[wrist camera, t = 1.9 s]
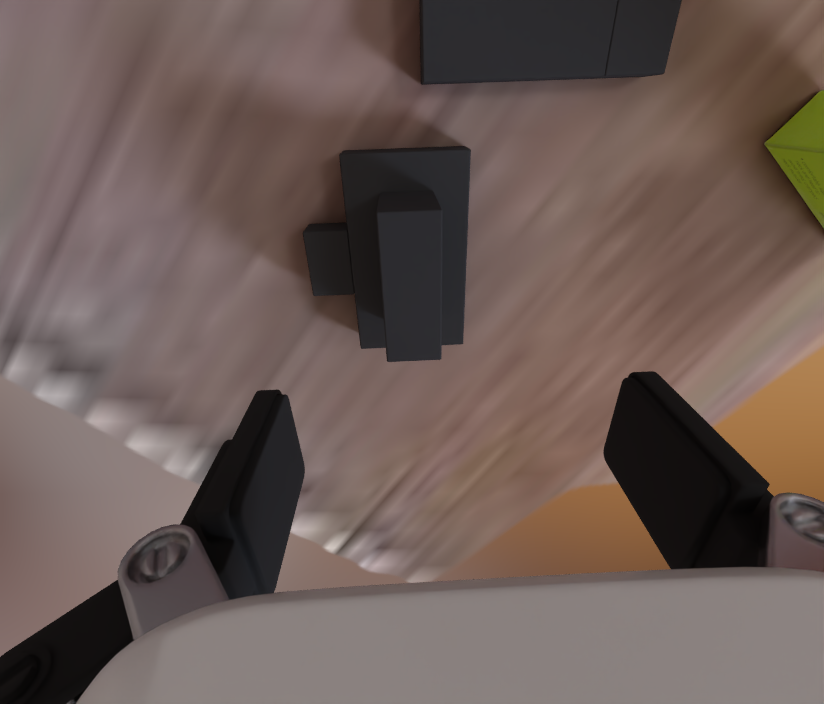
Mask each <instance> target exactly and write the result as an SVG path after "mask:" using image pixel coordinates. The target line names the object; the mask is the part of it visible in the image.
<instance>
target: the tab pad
mask: <svg viewBox="0 0 824 704" xmlns="http://www.w3.org/2000/svg"><path fill="white" fill-rule="evenodd" d="M470 155H471V150H470V149H469V148H467V147H465V146H451V147H425V148H398V149H371V150H345V151H343V152H342V153H340V155H339V158H340V166H341V175H342V184H343V193H344V202H345V211H346V220H347V223H324V224H309V225H308V226H307V228H306V229H305V230H304V232H303V237H304V243H305V249H306V255H307V261H308V267H309V272H310V278H311V284H312V290H313V295H314V296H322V295H346V294H354V293H355V301H356V310H357V319H358V328H359V337H360V346H361V349H366V348H386V354H387V361H388V362H397V361H419V360H440V359H441V345H454V344H463V332H464V307H465V282H466V256H467V231H468V206H469V180H470Z"/></svg>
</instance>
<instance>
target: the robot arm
mask: <svg viewBox="0 0 824 704" xmlns="http://www.w3.org/2000/svg"><path fill="white" fill-rule="evenodd" d="M604 458H605V461H606V463H607V465H608V466H609V468H610V470H611V471H612V473H613V474H614V476H615V478H616V479H617V481H618V483H619V484H620V486H621V488H622V489H623V491H624V492H625V494H626V496H627V497H628V499H629V501H630V503H631V504H632V506H633V508H634V509H635V511H636V512H637V514H638V516H639V517H640V519H641V521H642V522H643V524H644V526H645V527H646V529H647V531H648V532H649V534H650V536H651V537H652V539H653V541H654V542H655V544H656V545H657V547H658V549H659V550H660V552H661V554H662V555H663V557H664V559H665V560H666V562H667V564H668V565H669V566H670V568H671V569H669V570H648V571H628V572H606V573H586V574H565V575H547V576H529V577H509V578H491V579H473V580H455V581H437V582H420V583H403V584H387V585H370V586H353V587H340V588H327V589H313V590H300V591H287V592H277V593H274V590H275V588H276V584H277V580H278V576H279V572H280V569H281V565H282V561H283V557H284V553H285V549H286V545H287V541H288V537H289V534H290V530H291V526H292V522H293V518H294V514H295V510H296V506H297V502H298V499H299V495H300V491H301V487H302V483H303V479H304V473H305V467H304V461H303V457H302V453H301V449H300V444H299V440H298V436H297V432H296V427H295V423H294V419H293V415H292V411H291V406H290V402H289V398H288V396H287V395H282V394H281V392H280V390H261V391H257V392H256V394H255V396H254V398H253V400H252V401H251V403H250V405H249V407H248V409H247V411H246V413H245V415H244V417H243V419H242V421H241V423H240V425H239V427H238V429H237V431H236V433H235V435H234V437H233V439H232V440H227V441H225V442H224V444H223V445H222V447H221V449H220V450H219V452H218V454H217V456H216V458H215V460H214V462H213V464H212V466H211V467H210V469H209V471H208V473H207V475H206V477H205V479H204V481H203V482H202V484H201V486H200V488H199V490H198V492H197V494H196V496H195V498H194V500H193V501H192V503H191V505H190V507H189V509H188V511H187V513H186V515H185V516H184V518H183V520H182V522H181V524H180V525H169V526H165V527H161V528H159V529H157V530H155V531H152V532H150V533H149V534H147V535H146V536H144V537H143V538H142V539H140V540H139V541H137V542H136V543H135V544H134V545H133V546H132V547H131V548H130V549H129V550H128V552H127V553H126V555H125V556H124V557H123V559H122V561H121V563H120V566H119V568H118V580H117V581H115V582H114V583H112V584H110V585H109V586H108V587H106V588H104V589H103V590H101V591H100V592H98V593H97V594H95V595H94V596H92V597H90V598H89V599H87V600H86V601H84V602H83V603H81V604H80V605H78V606H77V607H75V608H74V609H72V610H71V611H69V612H67V613H66V614H64V615H63V616H61V617H60V618H58V619H57V620H55V621H54V622H52V623H51V624H49V625H47V626H46V627H44V628H43V629H41V630H40V631H38V632H37V633H35V634H34V635H32V636H31V637H29V638H27V639H26V640H24V641H23V642H21V643H20V644H18V645H17V646H15V647H14V648H12V649H11V650H9V651H8V652H6V653H5V654H4V655H2V656H1V657H0V704H824V502H822V501H820V500H817V499H815V498H812V497H809V496H805V495H802V494H796V493H781V494H778V495H776V496H775V497H774V496H773V495H772V494H771V493H770V492H769V491H768V490H767V488H768V486H769V483H768V482H767V481H766V480H765V479H764V478H763V477H762V476H761V475H760V474H759V473H758V472H757V471H756V470H755V469H754V468H753V467H752V466H751V465H750V464H749V463H748V462H747V461H746V460H745V459H744V458H743V457H742V456H741V455H740V454H739V453H737V451H736V450H735V449H734V448H733V447H732V446H731V445H729V443H727V442H726V441H725V440H724V439H723V438H722V437H721V436H720V435H719V434H718V433H717V432H716V431H715V430H714V429H713V428H712V427H711V426H710V425H709V424H708V423H707V422H706V421H705V420H704V419H703V418H702V417H701V416H700V415H699V414H698V413H697V412H696V411H695V410H694V409H693V408H692V407H691V406H690V405H689V404H688V403H687V402H686V401H685V400H684V399H683V398H682V397H681V396H680V395H679V394H678V393H677V392H676V391H675V390H674V389H673V388H672V387H671V386H670V385H669V384H668V383H667V382H666V381H665V380H664V379H663V378H662V377H661V376H659V375H658V374H657V373H656V372H652V371H651V372H633V373H631V374H630V375H629V376H628V378H625V379H624V380H623V381H622V384H621V388H620V392H619V395H618V399H617V403H616V406H615V410H614V414H613V417H612V421H611V424H610V428H609V432H608V435H607V439H606V443H605V446H604Z"/></svg>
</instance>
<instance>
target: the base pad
mask: <svg viewBox="0 0 824 704" xmlns="http://www.w3.org/2000/svg"><path fill="white" fill-rule="evenodd" d="M419 1H420V63H421V84H422V85H424V84H452V83H481V82H509V81H538V80H566V79H589V78H590V79H594V78H623V77H645V76H653V75H660V74H664V72H665V68H666V64H667V59H668V55H669V51H670V47H671V43H672V39H673V34H674V30H675V26H676V22H677V18H678V13H679V9H680V5H681V1H682V0H419Z"/></svg>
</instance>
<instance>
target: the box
mask: <svg viewBox="0 0 824 704" xmlns="http://www.w3.org/2000/svg"><path fill="white" fill-rule="evenodd" d="M764 145H765V146H766V147H767V149H768V150H769V151H770V153H771V154H772V155H773V157H774V158H775V160H776V161H777V163H778V164H779V165H780V167H781V168H782V170H783V171H784V172H785V174H786V175H787V177H788V178H789V180H790V181H791V182H792V184H793V185H794V187H795V188H796V190H797V191H798V192H799V194H800V195H801V197H802V198H803V200H804V201H805V203H806V204H807V206H808V207H809V208H810V210H811V211H812V213H813V214H814V215H815V217H816V218H817V220H818V221H819V222H820V224H821V225H822V227H823V228H824V90H821V91H820V92H818V93H817V94H816V95H815V96H814V97H813V98H812V99H811V100H810V101H809V102H808V103H807V104H806V105H805V106H804V107H803V108H802V109H801V110H800V111H799V112H798V113H796V114H795V115H794V116H793V117H792V118H791V119H790V120H789V121H788V122H787V123H786V124H785V125H784V126H783V127H782V128H781V129H780V130H778V131H777V132H776V133H775V134H774V135H773V136H772V137H771V138H770V139H769V140H767V141H766V142H765V143H764Z"/></svg>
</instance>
